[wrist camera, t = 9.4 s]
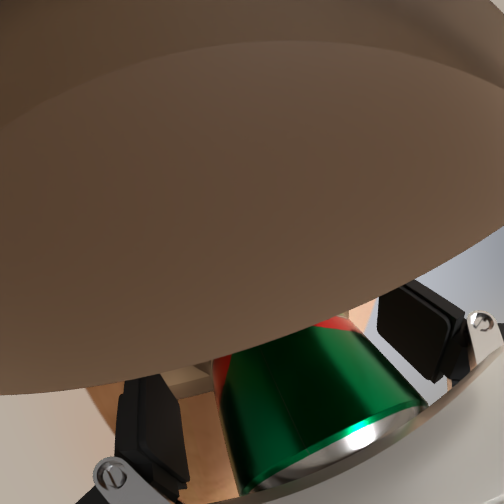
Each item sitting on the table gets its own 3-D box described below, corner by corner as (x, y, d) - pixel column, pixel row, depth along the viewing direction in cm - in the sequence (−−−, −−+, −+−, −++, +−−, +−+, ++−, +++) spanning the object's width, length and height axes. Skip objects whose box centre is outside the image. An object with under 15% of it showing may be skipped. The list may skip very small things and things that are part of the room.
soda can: (230, 334, 16) (303, 533, 5) (176, 272, 13) (199, 537, 3) (302, 286, 16) (445, 452, 5) (259, 215, 14) (467, 399, 3)
